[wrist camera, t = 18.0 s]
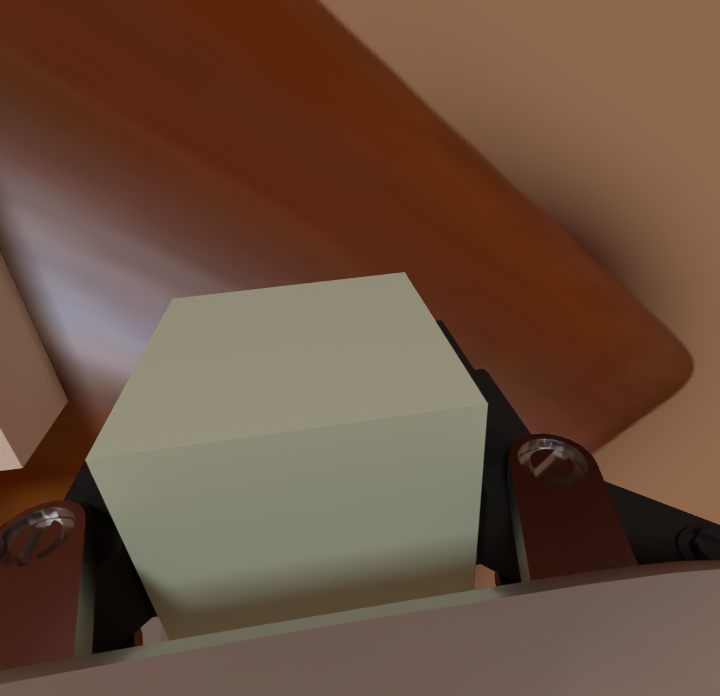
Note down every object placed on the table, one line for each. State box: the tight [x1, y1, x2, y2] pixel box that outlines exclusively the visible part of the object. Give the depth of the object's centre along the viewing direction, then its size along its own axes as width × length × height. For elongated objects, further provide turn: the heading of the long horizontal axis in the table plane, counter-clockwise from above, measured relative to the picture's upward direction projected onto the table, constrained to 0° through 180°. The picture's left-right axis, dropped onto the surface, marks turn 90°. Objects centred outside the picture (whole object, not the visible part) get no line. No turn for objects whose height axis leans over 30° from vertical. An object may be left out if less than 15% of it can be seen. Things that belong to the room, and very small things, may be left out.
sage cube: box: [85, 272, 488, 641], centre depth 9 cm, size 5×5×5 cm
